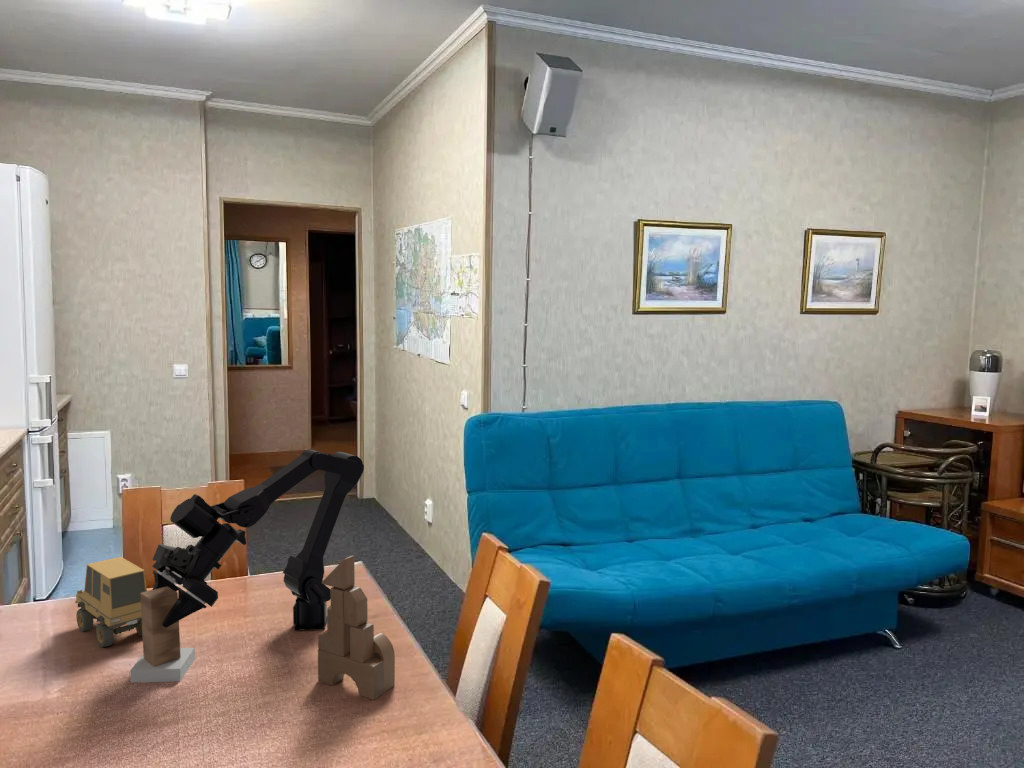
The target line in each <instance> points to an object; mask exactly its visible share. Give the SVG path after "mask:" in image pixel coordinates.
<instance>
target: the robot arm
mask: <svg viewBox="0 0 1024 768" xmlns="http://www.w3.org/2000/svg"><path fill="white" fill-rule="evenodd" d="M364 470H365V465H364V462H363V461H362V459H361V458H360V457H359V456H357V455H354V454H350V453H346V452H343V451H336V452H334V453H333V454H331V453H326V452H321V451H318V450H314V449H306V450H304V451H303V452H302V453H301V455H299V456H298V457H296V458H295V459H293V460H292V461H291V462H289V463H288V464H286V465H285V466H283V467H282V468H280V470H277V471H276V472H275V473H273V474H272V475H270V477H268V478H267V479H265V480H264V481H262V482H260V484H257V485H255V486H253V487H249V488H246V489H242V490H240V491H238V492H237V493H234V494H233V495H231V496H229V497H228V498H227V499H225V501H223V502H222V501H221V502H220V503H216V504H213V505H210V504H209V503H207V501H205V499H204V498H203V497H202V496H200V495H198V494H196V493H194V494H192V496H191V497H190V498H187V499H186V500H184V501H183V502H181V503H180V504H178V505H176V507H175V508H174V509H173V511H172V513H171V515H170V522H171V523H173V525H175V526H176V527H178V528H179V529H180V530H181V531H183V532H184V533H186V534H187V535H188V536H190V537H191V538H193V539H197V538H200V539H199V540H198V541H197V543H196V544H195V545H193V544H188V545H187V546H186V547H183V548H181V547H180V546H171V545H165V544H163V543H158V545H157V547H156V550H155V553H154V554H153V557H152V558H151V559H152V561H154V562H155V563H154V564H153V565H152V566H151V567H152V568H154V569H155V570H154V569H153V570H152V574H153V576H154V578H153V579H154V584H153V586H152V589H151V590H154V589H158V588H162V587H166V586H167V587H169V588H170V589H172V590H174V591H176V592H178V600H177V601H176V603H175V604H174V606H173V607H172V609H171V610H170V612H169V613H168V615H167V616H166V618H165V619H164V621H163V623H162V626H164V627H165V628H167V627H169V626H170V625H172V624H174V623H176V622H178V621H179V622H180V621H181V620H183V619H184V618H186V617H188V616H190V615H192V614H194V613H197V612H198V611H200V610H202V609H206V608H208V606H210V607H213V606H214V604H215V603H216V602H217V601H218V599H219V592H218V591H217V590H216V589H214V588H213V587H212V586H210V585H209V584H208V582H207V581H206V579H207V578H208V577H209V576H210V574H211V573H212V572H213V570H214V569H217V570H219V569H220V568H221V566H222V564H221V563H219V562H221V561H222V559H223V558H224V556H225V555H226V554H227V553H228V552H229V550H230V549H231V547H232V546H233V545H234V544H235V543H236V542H237V543H239V544H241V545H243V546H245V545H247V539H246V531H245V530H244V529H241V528H248V529H249V528H252V527H254V526H255V525H256V524H257V523H259V521H261V519H263V517H264V516H265V515H266V514H267V513H268V511H269V509H270V507H271V505H272V504H274V503H275V501H277V500H278V499H279V498H280V497H282V496H284V495H285V494H286V493H288V492H289V491H290V490H292V489H294V487H296V486H297V485H299V484H300V483H301V482H303V481H304V480H305V479H307V478H308V477H309V476H311V475H312V474H314V473H315V472H316V471H324V491H323V494H322V497H321V499H320V503H319V504H318V507H317V511H316V513H315V515H314V518H313V521H312V523H311V526H310V527H309V528H310V529H309V531H308V534H307V536H306V539H305V542H304V545H303V547H302V550H301V551H300V552H299V553H298V554H297V555H295V556H293V555H289V557H288V559H287V563H286V566H285V568H284V570H283V571H282V574H284V576H283V583H284V585H285V587H286V588H287V590H290V592H291V594H292V596H295V597H296V599H295V603H294V604H293V606H292V614H293V615H292V616H293V617H292V619H293V620H292V621H293V622H292V623H293V625H294V631H321V630H325V629H326V627H327V626H326V625H327V608H328V607H327V604H328V603H327V602H329V601H330V602H331V588H330V587H329V586H328V585H324V584H322V581H323V580H324V576H325V561H324V559H325V558H324V557H325V554H326V550H327V548H328V546H329V543H330V540H331V537H332V534H333V532H334V530H335V526H336V524H337V521H338V519H339V516H340V513H341V511H342V508H343V505H344V504H345V500H346V497H347V496H348V495H349V493H350V492H351V491H352V490H353V489H354V488H355V487H357V485H358V483H359V481H360V480H361V477H362V475H363V473H364ZM218 520H220V521H223V522H224V523H221V522H219V521H218ZM232 524H234V525H235V526H236V525H237V526H238V527H241V528H240V529H236V528H235V527H233V525H232ZM176 584H177V585H178V586H177V585H176ZM179 586H182V588H181V587H179ZM183 588H184V589H185V590H186V591H185V590H184V589H183ZM205 604H206V605H205ZM207 605H208V606H207Z"/></svg>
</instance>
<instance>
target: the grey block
mask: <svg viewBox="0 0 1024 768" xmlns="http://www.w3.org/2000/svg"><path fill="white" fill-rule="evenodd" d="M195 653H196V651H195V647H180V656H181V658H179V659H175V660H172V661H169V662H166V663H163V664H160V665H157V666H153V665H152V664H151V663H149V662H148V661H147V660H145V659H144V654H141V656H140V658H139V659H138V660H137V661H136V662H135V663H134V665H133V666H132V667H131V669H130V672H129V673H130V674H129V675H130V684H133V682H138V684H139V682H141V683H158V682H159V683H164V682H167V683H168V682H169V683H170V681H171V682H181V681H182V680H183V678H185V676H186V674H187V673H188V671H189V669H190V667H191V666H192V664H193V663H194V662H195V660H196V658H195Z"/></svg>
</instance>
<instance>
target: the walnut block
mask: <svg viewBox="0 0 1024 768" xmlns="http://www.w3.org/2000/svg"><path fill="white" fill-rule="evenodd" d="M140 594H141V614H142V634H143V636H142V653H143V654H144V659H145V660H147V661H148V662H149V663H151V664H152V665H153V666H157V665H160V664H163V663H166V662H169V661H172V660H175V659H179V658H181V656H180V648H181V641H180V639H181V638H180V620H179V621H178V622H176V623H174V624H172V625H170V626H169V627H167V628H165V627H164V626H162V623H163V621H164V619H165V618H166V616H167V615H168V613H169V612H170V610H171V609H172V607H173V606H174V604H175V603H176V601H177V600H178V591H177V592H176V591H174V590H172V589H170V588H169V587H167V586H166V587H162V588H158V589H154V590H152V589H151V590H147V591H146V592H142V593H140ZM143 654H142V655H143Z"/></svg>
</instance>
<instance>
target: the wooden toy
mask: <svg viewBox="0 0 1024 768" xmlns="http://www.w3.org/2000/svg"><path fill="white" fill-rule="evenodd" d="M355 573H356V572H355V556H354V555H350V556H347V557H345V558H343V560H342V561H341V562H340V563H338V564H337V566H335V568H334V569H333V570H332V571H331V572H330V573H329V574H328V575H327V576H326V577H325V578H323V581H322V584H324V585H326V586H327V587H331V588H330V589H331V599H330V605H329V606H328V607H327V623H326V625H327V626H326V629H327V630H325V631H323V632H321V633H319V634H317V648H318V649H317V679H318V682H321V683H323V684H326V685H329V686H334V685H336V684H337V683H339V682H341V681H343V680H344V676H345V675H346V676H348V677H350V678H351V679H352V681H353V682H355V683H354V684H355V685H356V688H357V692H358V696H360V697H362V698H366V699H370V700H372V701H374V700H376V699H378V698H379V697H381V696H382V695H384V694H385V692H387V691H388V690H390V689H392V688H393V687H394V686H396V685H395V680H396V676H395V675H396V674H395V673H396V669H395V668H396V662H395V661H396V659H395V658H396V656H395V650H394V645H393V643H392V641H391V640H390V639H389V638H388V637H387V635H385V633H383V632H380V633H377V634H376V635H374V632H375V630H374V629H375V628H374V627H375V625H374V624H373V623H371V622H368V620H369V618H368V614H369V613H368V597H367V595H366V594H365V593H364V591H363V589H362V588H361V586H357V585H355V580H356V579H355Z"/></svg>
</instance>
